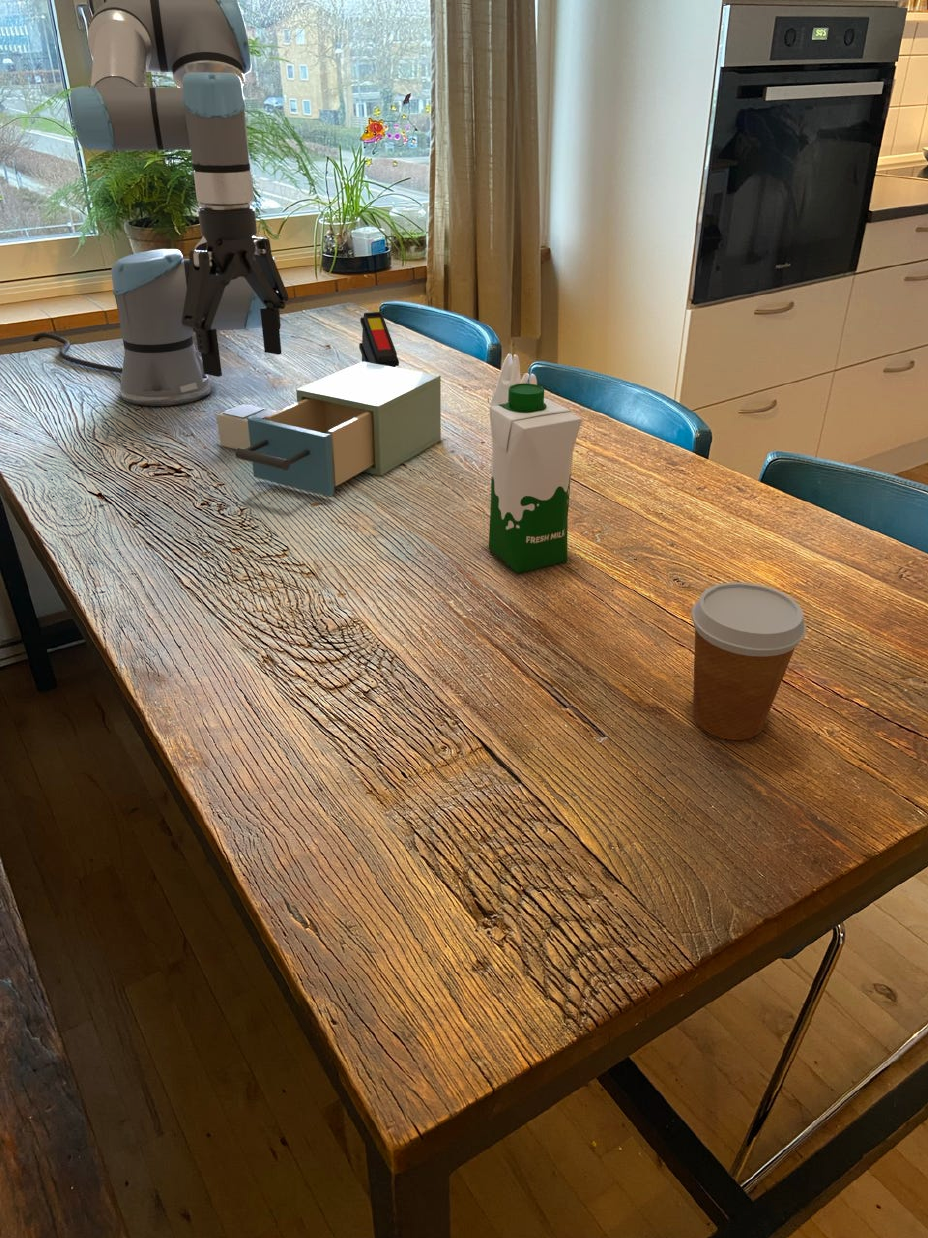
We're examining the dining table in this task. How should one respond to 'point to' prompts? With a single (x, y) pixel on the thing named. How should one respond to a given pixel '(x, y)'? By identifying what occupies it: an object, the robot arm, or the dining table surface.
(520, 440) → the milk carton
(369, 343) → the black switch panel
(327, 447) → the drawer
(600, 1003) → the dining table surface
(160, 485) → the dining table surface
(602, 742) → the dining table surface
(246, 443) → the cream box
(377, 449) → the cabinet
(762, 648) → the disposable coffee cup
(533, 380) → the shaker set
